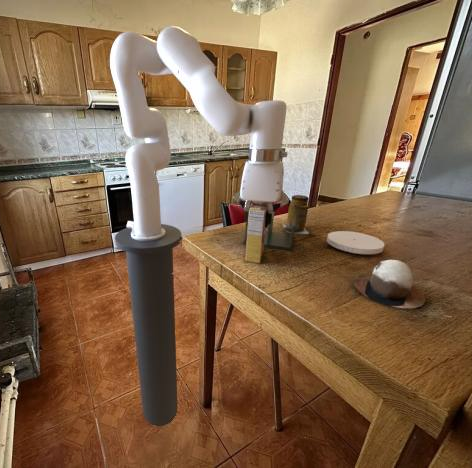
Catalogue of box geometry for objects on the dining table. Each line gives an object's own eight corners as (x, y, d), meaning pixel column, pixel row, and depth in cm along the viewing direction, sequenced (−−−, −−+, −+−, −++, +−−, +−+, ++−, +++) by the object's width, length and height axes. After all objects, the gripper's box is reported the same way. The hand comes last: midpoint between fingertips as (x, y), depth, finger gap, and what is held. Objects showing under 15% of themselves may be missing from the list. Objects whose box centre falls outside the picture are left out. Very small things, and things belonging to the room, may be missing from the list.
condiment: (303, 226, 95) (308, 194, 91) (309, 234, 88) (315, 200, 83) (282, 225, 97) (286, 194, 93) (286, 233, 89) (291, 199, 85)
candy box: (249, 248, 79) (254, 200, 73) (263, 251, 77) (270, 201, 71) (243, 261, 71) (248, 208, 66) (259, 264, 70) (266, 210, 64)
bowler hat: (353, 266, 64) (398, 245, 57) (385, 301, 62) (435, 284, 55) (344, 285, 56) (396, 264, 49) (380, 327, 54) (439, 310, 47)
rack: (244, 244, 82) (246, 220, 79) (250, 231, 92) (252, 210, 89) (291, 250, 76) (295, 225, 74) (292, 236, 86) (296, 214, 84)
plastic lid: (385, 261, 68) (387, 253, 67) (324, 251, 76) (326, 243, 75) (379, 243, 79) (381, 235, 78) (327, 235, 86) (328, 228, 85)
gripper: (301, 155, 64) (291, 224, 70) (234, 154, 71) (230, 217, 77) (301, 158, 57) (290, 233, 64) (227, 157, 64) (223, 225, 71)
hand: (257, 224), depth 71 cm, fingers closed on candy box, 4 cm apart
